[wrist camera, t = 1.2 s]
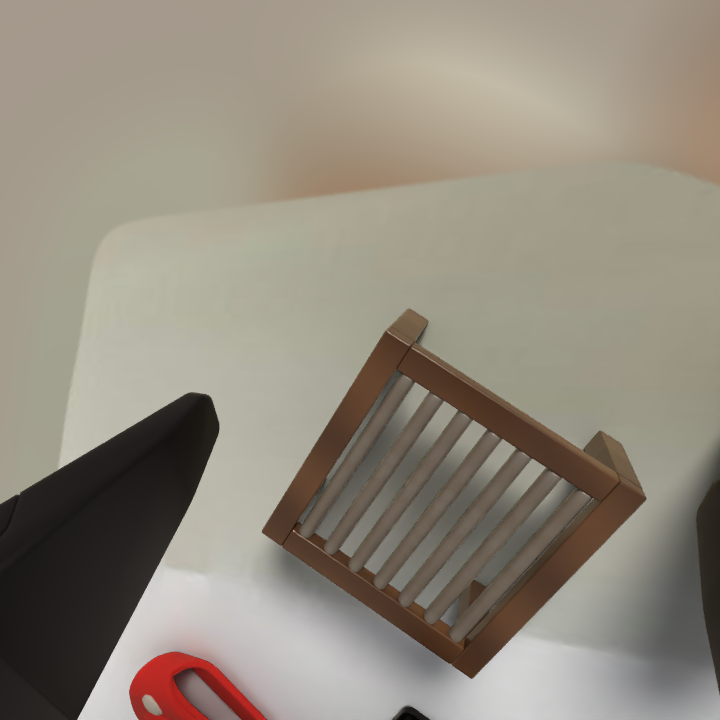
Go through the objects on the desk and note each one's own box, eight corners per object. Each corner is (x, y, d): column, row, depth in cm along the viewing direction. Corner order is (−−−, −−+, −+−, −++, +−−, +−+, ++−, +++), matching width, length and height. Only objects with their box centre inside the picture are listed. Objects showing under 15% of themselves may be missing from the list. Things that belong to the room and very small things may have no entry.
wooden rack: (478, 603, 30) (472, 680, 25) (300, 481, 31) (260, 532, 26) (621, 444, 25) (648, 499, 21) (409, 307, 26) (385, 329, 21)
